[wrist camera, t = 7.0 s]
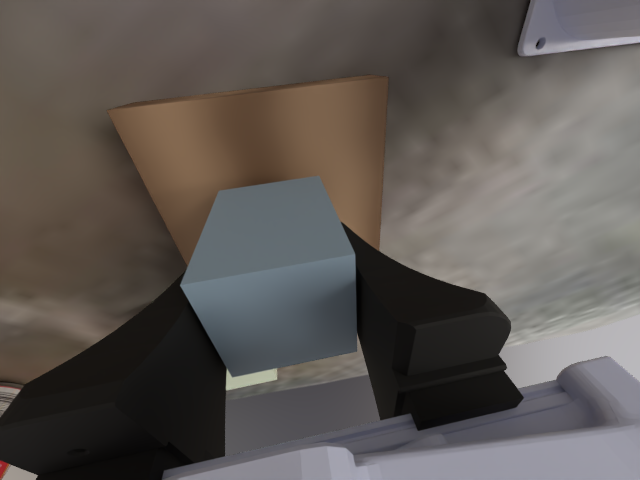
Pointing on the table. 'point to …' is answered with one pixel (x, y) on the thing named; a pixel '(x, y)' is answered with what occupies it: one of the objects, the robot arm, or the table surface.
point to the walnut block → (261, 148)
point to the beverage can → (3, 396)
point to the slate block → (274, 277)
